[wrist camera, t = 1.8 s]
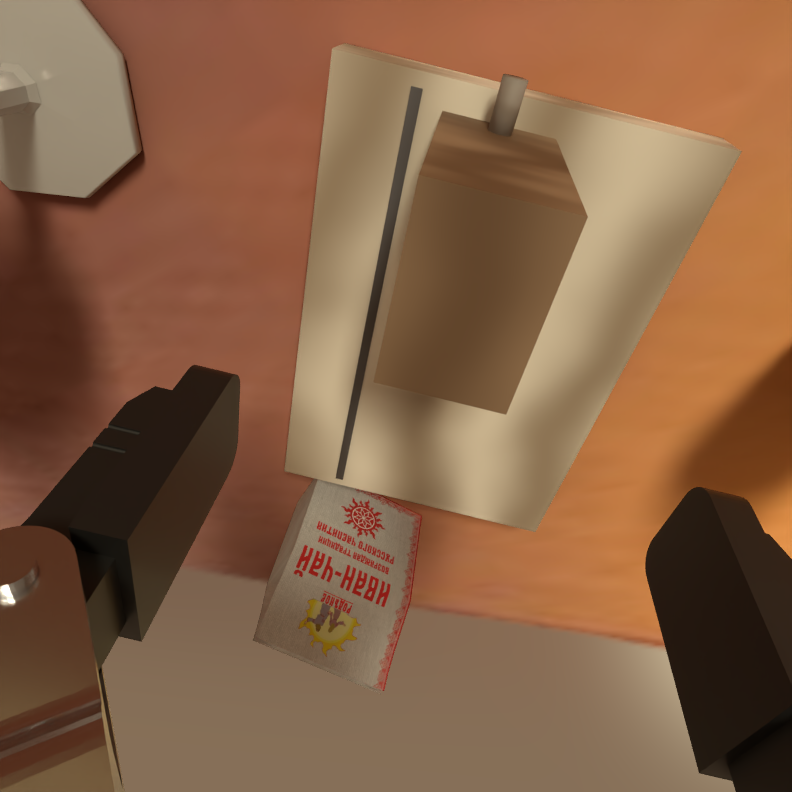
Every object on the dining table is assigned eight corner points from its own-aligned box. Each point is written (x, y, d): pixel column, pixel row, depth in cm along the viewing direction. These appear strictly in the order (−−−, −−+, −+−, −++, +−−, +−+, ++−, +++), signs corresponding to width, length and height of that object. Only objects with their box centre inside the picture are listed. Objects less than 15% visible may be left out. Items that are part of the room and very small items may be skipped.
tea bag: (392, 547, 36) (364, 706, 28) (297, 501, 35) (240, 655, 27) (421, 515, 34) (400, 678, 26) (322, 466, 33) (268, 621, 25)
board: (722, 138, 21) (743, 152, 19) (533, 504, 33) (535, 533, 31) (344, 42, 20) (331, 48, 19) (294, 446, 32) (283, 472, 31)
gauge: (574, 87, 18) (618, 144, 12) (501, 294, 23) (506, 414, 17) (454, 57, 18) (435, 98, 12) (406, 270, 23) (373, 382, 17)
